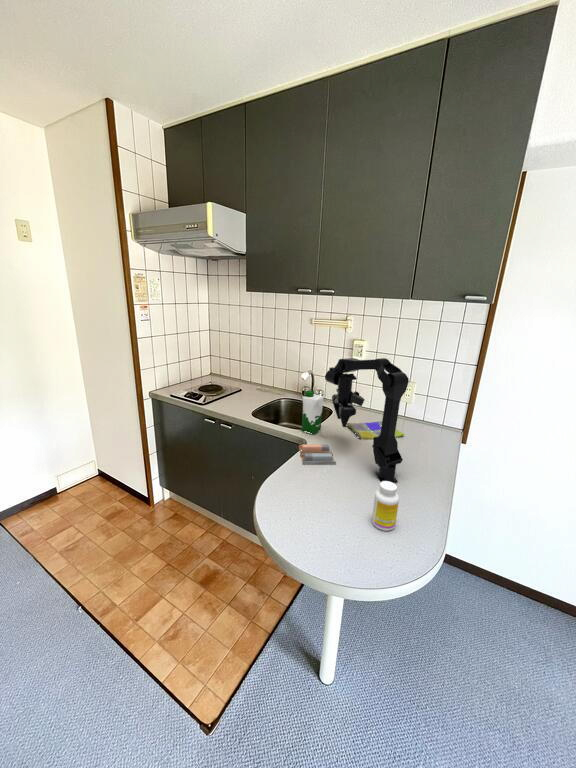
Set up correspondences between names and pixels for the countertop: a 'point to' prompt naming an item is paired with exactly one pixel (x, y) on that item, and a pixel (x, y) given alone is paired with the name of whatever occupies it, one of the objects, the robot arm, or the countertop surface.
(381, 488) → the supplement bottle
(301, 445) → the cord caddy
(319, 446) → the two-tone eraser
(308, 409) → the milk carton
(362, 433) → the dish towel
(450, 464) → the countertop surface
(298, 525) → the countertop surface
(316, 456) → the grey square bar
